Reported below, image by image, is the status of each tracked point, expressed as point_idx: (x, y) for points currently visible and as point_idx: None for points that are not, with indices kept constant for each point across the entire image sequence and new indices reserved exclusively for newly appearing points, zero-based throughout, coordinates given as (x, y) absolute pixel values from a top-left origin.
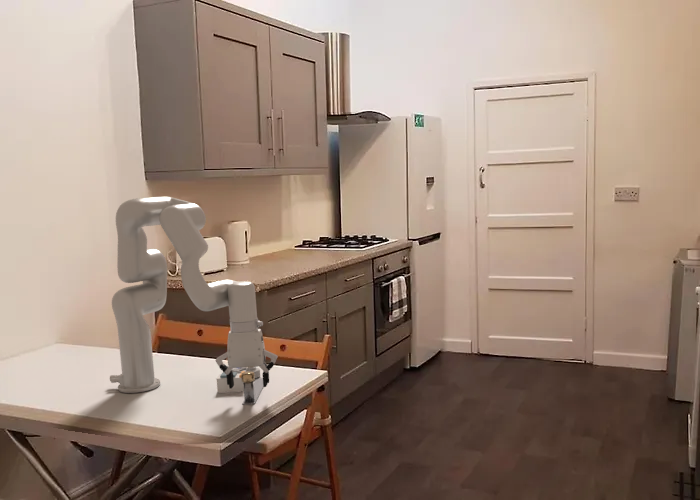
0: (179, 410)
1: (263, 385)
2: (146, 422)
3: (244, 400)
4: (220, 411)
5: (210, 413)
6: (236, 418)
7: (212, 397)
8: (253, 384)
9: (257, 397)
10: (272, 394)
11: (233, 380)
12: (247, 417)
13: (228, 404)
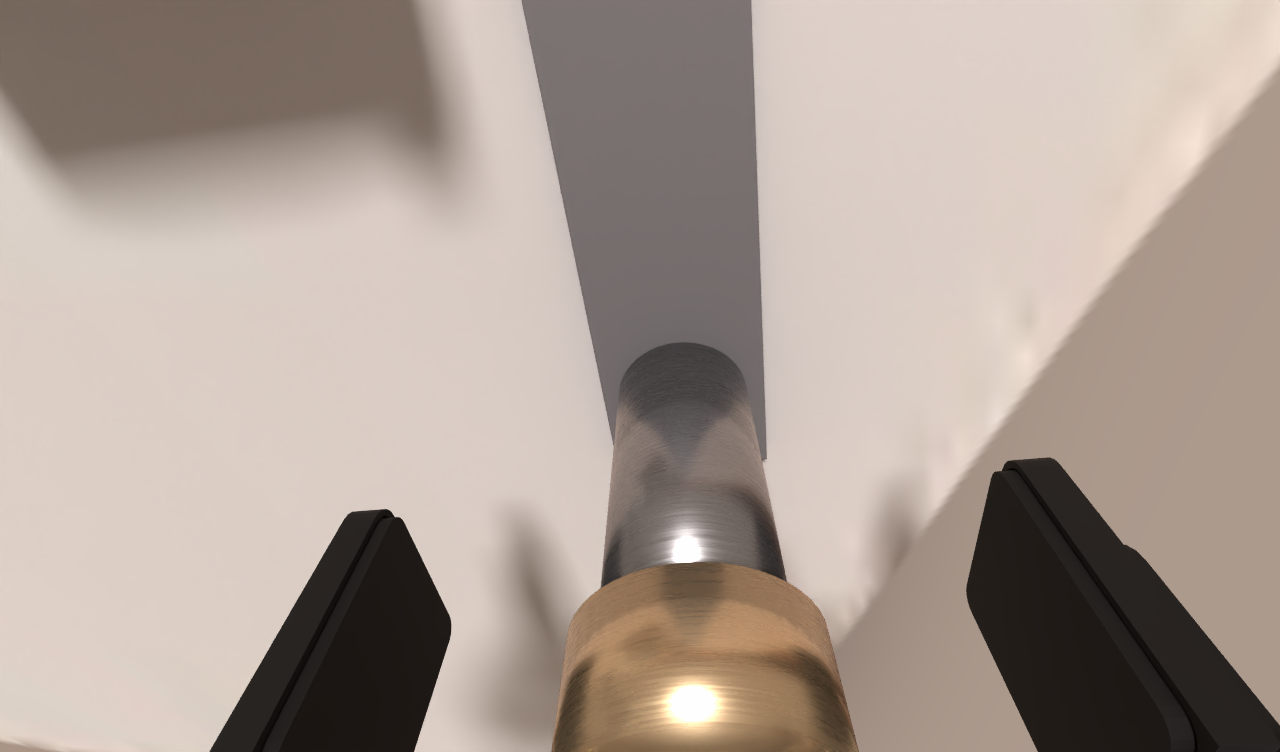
0: (57, 568)
1: (977, 616)
2: (50, 729)
3: (604, 373)
4: (473, 596)
5: None
6: None
7: (30, 191)
8: (783, 565)
9: (758, 263)
10: (988, 40)
11: (364, 590)
12: None
13: (448, 446)
